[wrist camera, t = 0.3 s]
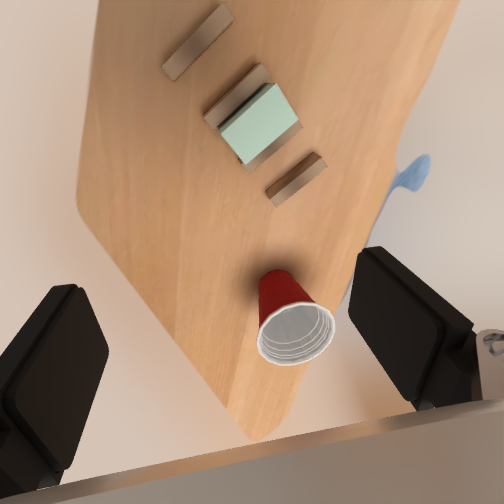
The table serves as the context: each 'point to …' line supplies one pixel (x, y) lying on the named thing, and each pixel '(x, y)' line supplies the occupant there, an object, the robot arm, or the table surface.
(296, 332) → the plastic cup
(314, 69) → the table surface
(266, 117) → the block
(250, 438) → the table surface
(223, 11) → the rack
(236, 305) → the table surface
